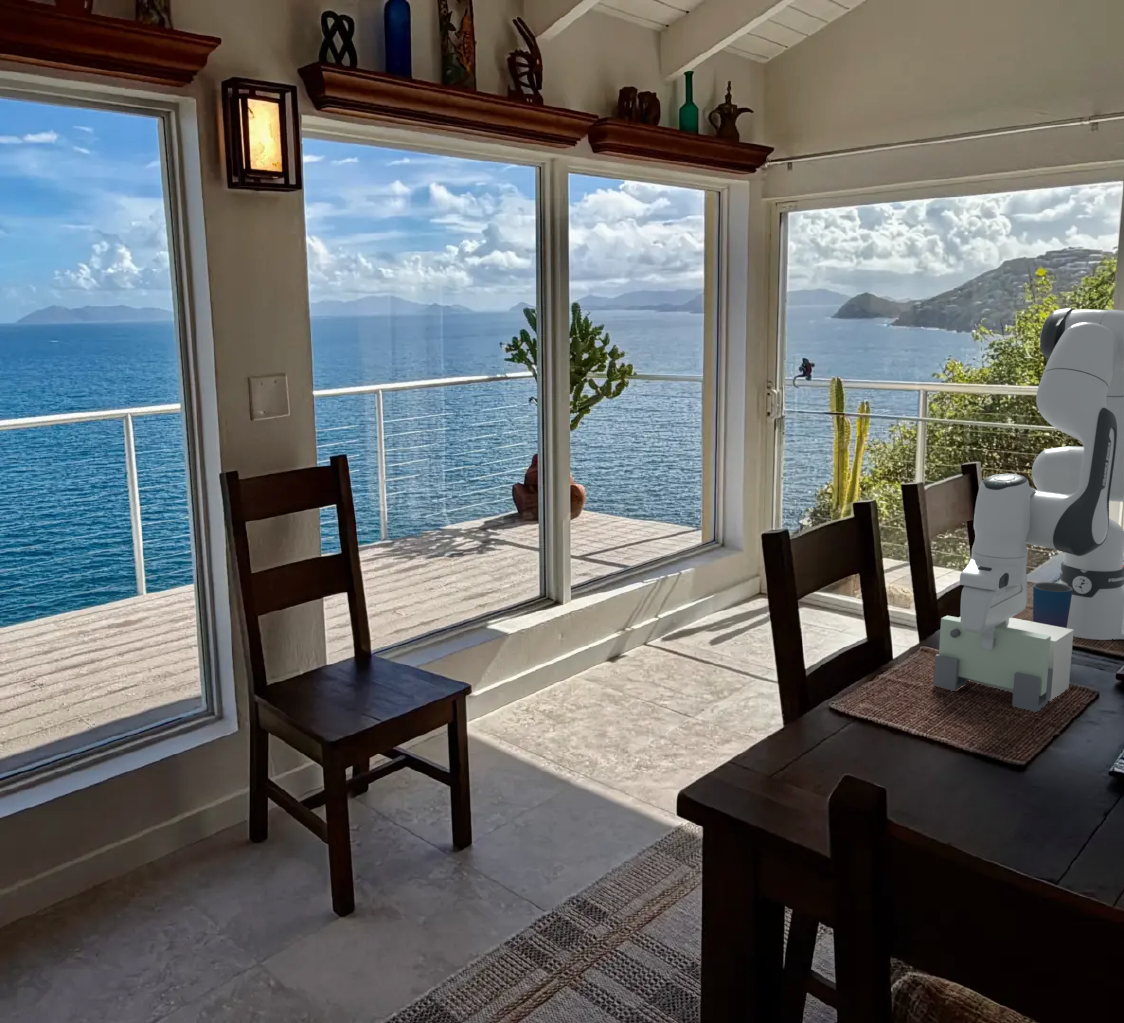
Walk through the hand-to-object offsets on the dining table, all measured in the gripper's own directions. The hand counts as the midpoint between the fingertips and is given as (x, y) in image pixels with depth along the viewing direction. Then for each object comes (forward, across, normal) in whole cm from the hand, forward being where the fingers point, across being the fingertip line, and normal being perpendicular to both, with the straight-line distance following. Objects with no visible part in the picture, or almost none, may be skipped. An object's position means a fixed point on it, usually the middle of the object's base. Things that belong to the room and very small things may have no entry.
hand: (992, 645), depth 178 cm
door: (+7, 0, 0) cm, 7 cm away
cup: (+10, -25, +1) cm, 27 cm away
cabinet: (+9, -5, 0) cm, 11 cm away
